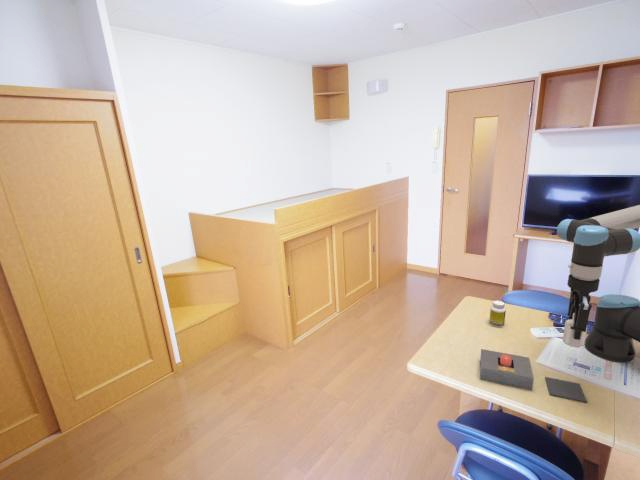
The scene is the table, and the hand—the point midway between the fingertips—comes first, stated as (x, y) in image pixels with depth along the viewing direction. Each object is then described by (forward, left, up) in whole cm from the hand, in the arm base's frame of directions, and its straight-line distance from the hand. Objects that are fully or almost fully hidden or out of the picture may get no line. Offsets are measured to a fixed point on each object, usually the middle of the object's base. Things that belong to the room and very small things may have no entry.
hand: (572, 342), depth 108 cm
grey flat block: (+18, -2, -18) cm, 26 cm away
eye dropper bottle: (0, 0, 0) cm, 0 cm away
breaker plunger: (+18, -2, -18) cm, 25 cm away
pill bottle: (+19, -39, -19) cm, 47 cm away
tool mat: (0, 0, -18) cm, 18 cm away
